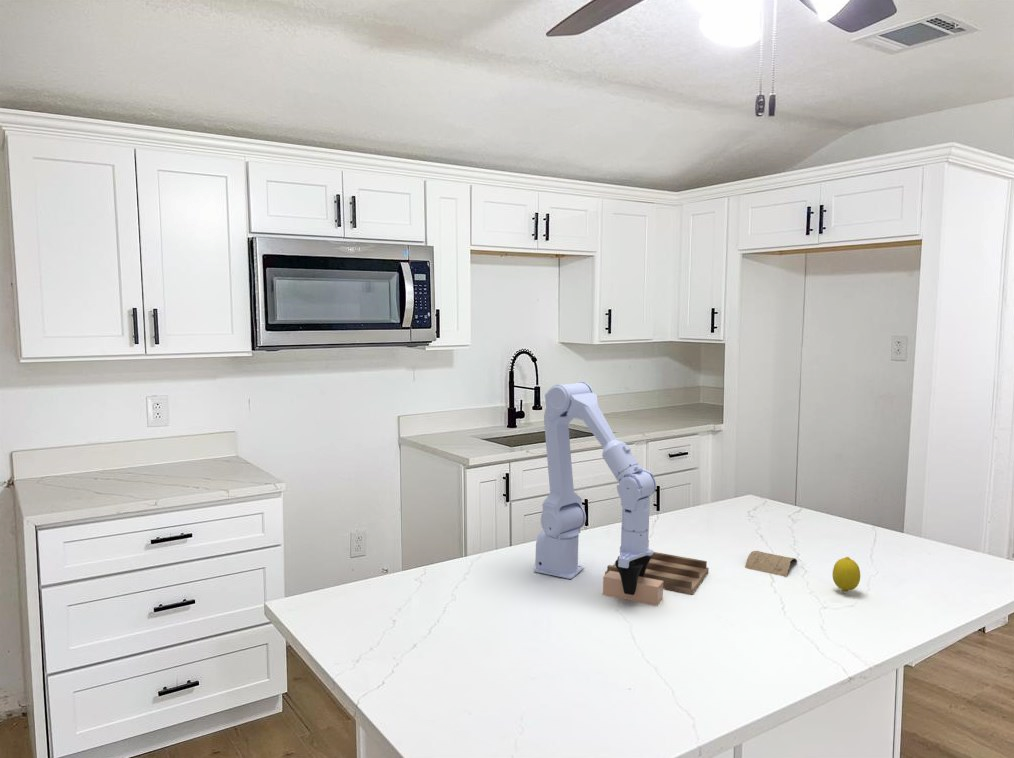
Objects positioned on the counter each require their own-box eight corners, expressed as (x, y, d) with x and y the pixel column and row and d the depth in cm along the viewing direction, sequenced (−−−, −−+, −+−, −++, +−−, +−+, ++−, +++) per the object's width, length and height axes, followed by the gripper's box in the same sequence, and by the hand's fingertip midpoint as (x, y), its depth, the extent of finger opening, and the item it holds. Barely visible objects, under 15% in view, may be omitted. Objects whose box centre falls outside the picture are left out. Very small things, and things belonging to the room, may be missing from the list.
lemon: (830, 594, 163) (832, 558, 163) (832, 585, 168) (834, 551, 167) (858, 599, 161) (860, 563, 160) (859, 590, 166) (862, 555, 165)
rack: (604, 577, 171) (605, 565, 170) (626, 557, 184) (626, 547, 184) (692, 594, 162) (693, 582, 161) (708, 572, 175) (708, 561, 175)
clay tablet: (786, 580, 173) (787, 569, 172) (742, 571, 178) (742, 560, 177) (798, 562, 185) (799, 551, 185) (756, 554, 190) (756, 544, 190)
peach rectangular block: (602, 594, 161) (603, 576, 161) (609, 588, 165) (609, 570, 164) (657, 605, 156) (658, 587, 155) (662, 599, 159) (663, 581, 159)
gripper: (642, 540, 150) (640, 606, 152) (663, 522, 163) (660, 582, 164) (609, 535, 153) (607, 598, 155) (632, 517, 166) (629, 576, 168)
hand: (632, 590), depth 160 cm, fingers closed on peach rectangular block, 4 cm apart
